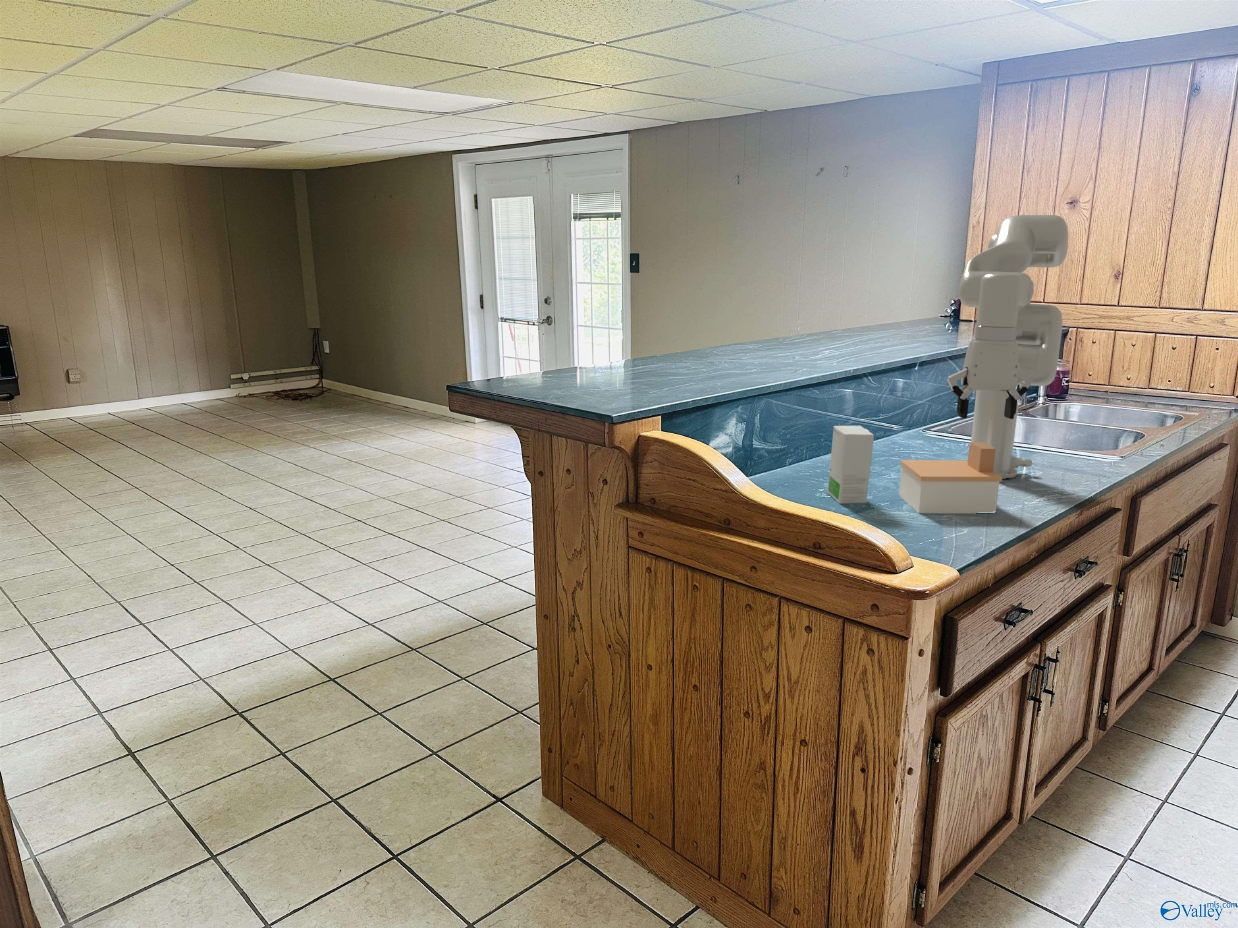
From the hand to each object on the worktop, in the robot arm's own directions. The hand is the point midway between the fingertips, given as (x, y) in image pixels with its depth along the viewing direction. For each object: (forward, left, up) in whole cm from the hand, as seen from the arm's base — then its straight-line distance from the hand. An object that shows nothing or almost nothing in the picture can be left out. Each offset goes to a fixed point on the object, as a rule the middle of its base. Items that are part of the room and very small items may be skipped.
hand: (985, 417), depth 179 cm
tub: (+6, 0, -19) cm, 20 cm away
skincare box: (+26, -4, -19) cm, 33 cm away
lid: (+6, 0, -12) cm, 14 cm away
